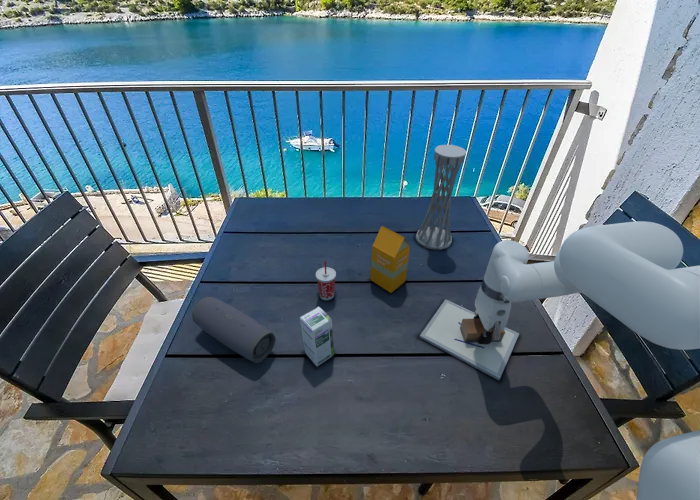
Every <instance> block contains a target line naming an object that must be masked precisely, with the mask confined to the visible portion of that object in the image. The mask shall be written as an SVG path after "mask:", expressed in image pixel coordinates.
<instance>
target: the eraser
mask: <svg viewBox="0 0 700 500" xmlns="http://www.w3.org/2000/svg"><path fill="white" fill-rule="evenodd" d="M460 330H461V333H462V336H463V339H464V342H465V343H473V342H478V341H479V338H480V336H481V333H483V331H484V326H483V324H482V322H481V320H480V318H477V319H462V322H461V326H460ZM488 332H492V329H489V331H488ZM504 334H505V331H504V330H503V331H500V340H493V339H492V341H491V342H501V341H502V339H503V337H504Z"/></svg>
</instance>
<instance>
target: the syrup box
mask: <svg viewBox="0 0 700 500" xmlns="http://www.w3.org/2000/svg"><path fill="white" fill-rule="evenodd" d="M299 324H300V329H301V335H302V343H303V349H304V353H305V354H306V356H307V357H308V358H309V359H310V361H311V362H312V363H313V364H314V365H315V366H316V367H319V366H320V365H322V364H323V363H325V362H326V361H328V360H329V359H330V358H332V357H333V356H335V348H334V346H335V345H334V333H333V332H334V330H333V319H332V318H331V316H329V315H328V313H326V312H325V310H323V309H322V308H321V307H320V306H317V307H315V308H314V309H312V310H310V311H308V312H307V313H305V314H303V315H301V316H300V317H299Z"/></svg>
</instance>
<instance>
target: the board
mask: <svg viewBox="0 0 700 500" xmlns="http://www.w3.org/2000/svg"><path fill="white" fill-rule="evenodd" d="M474 312H475V311H472V310H470V309H467V308H465V307H463V306H461V305H459V304H457V303H455V302H453V301H451V300H448V299H444V301H443V302H442V304H441V305H440V306H439V308H438V309H437V311H436V312H435V314H434V315H433V316H432V317H431V319H430V320H429V322H428V323H427V325H425V327H424V329H423V330H422V331H421V333H420V335H419V339H421V340H422V341H424V342H426V343H429V344H430V345H432V346H434V347H436V348H438V349H439V350H442V351H443V352H446V353H447V354H449V355H451V356H453V357H455V358H456V359H458V360H460V361H462V362H464V363H466V364H468V365H469V366H471V367H473V368H475V369H477V370H479V371H481V372H482V373H484V374H486V375H488V376H490V377H491V378H494V379H495V380H497V381H500V380H501V378H502V375H503V373H504V370H505V368H506V366H507V364H508V362H509V359H510V356H511V355H512V352H513V350H514V347H515V345H516V343H517V341H518V339H519V336H520V333H519V332H517V331H515V330H513V329H511V328H508V327H506V326H505V329H504V331H505V334H504V337H503V339H502V341H501V342H491V343H490V344H479V343H478V342H473V343H465V342H464V339H463V336H462V333H461V330H460V326H461V322H462V319H474V316H475V314H474Z"/></svg>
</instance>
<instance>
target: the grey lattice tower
mask: <svg viewBox="0 0 700 500" xmlns="http://www.w3.org/2000/svg"><path fill="white" fill-rule="evenodd" d="M466 154H467V151H466V150H465V148H463V147H462V146H458V145H455V144H440V145H437V146H436V147H435V148H434V153H433V160H434V162H435V170H434V179H433V190H432V195H431V198H430V201H429V204H428V207H427V210H426V213H425V217H424V219H423V221H422V223H421V225H420V227H419V229H418V230H417V232H416V234H415V241H416V242H417V243H418V245H420V246H422V247H423V248H426V249H429V250H445V249H447V248H449V247H451V245H452V242H453V237H452V234H451V206H452V194H453V191H454V186H455V184H456V180H457V176H458V173H459V171H460V170H461V166H462V164H463V163H465V158H466ZM444 169H445V170H444ZM444 171H445V174H444ZM436 201H437V202H436ZM441 203H442V204H441ZM442 212H443V215H442ZM436 213H437V216H436V218H434V217H435V215H436ZM434 219H435V220H434ZM437 225H438V227H437ZM444 226H445V228H444Z"/></svg>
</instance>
